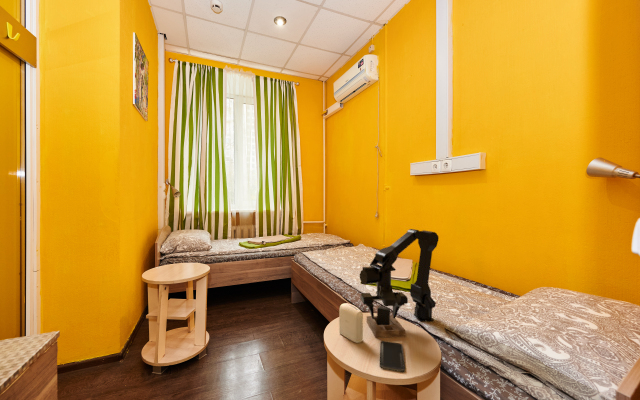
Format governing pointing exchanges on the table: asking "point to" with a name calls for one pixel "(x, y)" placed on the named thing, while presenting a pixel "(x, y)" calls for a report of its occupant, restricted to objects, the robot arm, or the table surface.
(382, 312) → the ink cartridge
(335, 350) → the table surface
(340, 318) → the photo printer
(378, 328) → the slot board
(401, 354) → the phone
